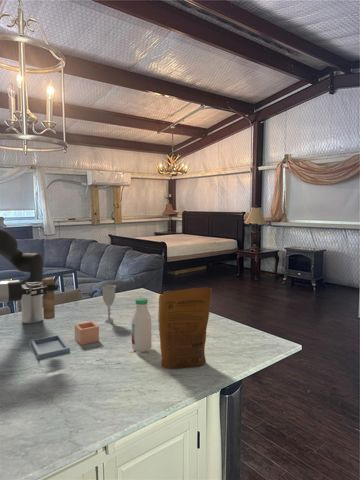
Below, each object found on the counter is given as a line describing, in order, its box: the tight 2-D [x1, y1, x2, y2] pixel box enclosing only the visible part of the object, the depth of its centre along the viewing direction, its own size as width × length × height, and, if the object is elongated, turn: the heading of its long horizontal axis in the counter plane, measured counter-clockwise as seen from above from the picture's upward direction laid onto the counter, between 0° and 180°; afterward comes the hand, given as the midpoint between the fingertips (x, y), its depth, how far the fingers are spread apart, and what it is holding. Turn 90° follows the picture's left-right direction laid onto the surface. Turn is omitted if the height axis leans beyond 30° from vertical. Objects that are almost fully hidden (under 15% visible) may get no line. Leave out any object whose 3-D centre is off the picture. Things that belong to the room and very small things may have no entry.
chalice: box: [101, 284, 117, 324], centre depth 156 cm, size 7×7×18 cm
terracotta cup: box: [74, 320, 100, 346], centre depth 135 cm, size 8×8×7 cm
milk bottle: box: [131, 297, 152, 353], centre depth 128 cm, size 8×8×20 cm
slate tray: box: [30, 334, 71, 362], centre depth 127 cm, size 16×11×2 cm
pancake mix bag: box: [157, 287, 213, 370], centre depth 114 cm, size 7×19×28 cm, turn 102°
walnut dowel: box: [42, 277, 56, 320], centre depth 125 cm, size 4×4×15 cm
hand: (56, 285), depth 126 cm, fingers closed on walnut dowel, 4 cm apart
